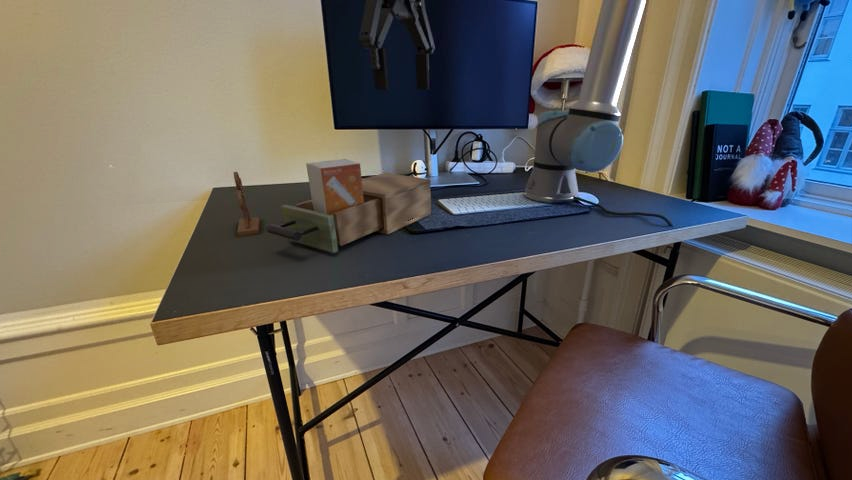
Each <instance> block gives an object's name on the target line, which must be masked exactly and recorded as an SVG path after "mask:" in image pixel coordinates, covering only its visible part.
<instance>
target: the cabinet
mask: <svg viewBox="0 0 852 480" xmlns="http://www.w3.org/2000/svg"><path fill="white" fill-rule="evenodd" d="M362 188H363V194H364V195H370V196H375V197H380V198H382V206H383V218H384V228H381V229H379V230H377V231H374V232H376V233H379V234H384V235H390V234H392V233H394V232H396V231H398V230H400V229H402V228H404V227H406V226H409V225H411V224H413V223H415V222H418V221H419V220H421V219H423V218H425V217H428V216H430V215H432V196H431V192H432V191H431V190H432V188H431V179H430V178H424V177H418V176H410V175H403V174H397V173H390V172H383V173H379V174H375V175H372V176H368V177H363V178H362ZM412 218H413V219H412ZM410 219H411V220H410ZM408 220H409V221H408Z"/></svg>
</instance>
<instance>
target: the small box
mask: <svg viewBox="0 0 852 480" xmlns="http://www.w3.org/2000/svg"><path fill="white" fill-rule="evenodd" d="M305 167H306V171H307V177H308V184H309V190H310V196H311V200H312V203H313V209H314V211H316V212H320V213H324V214H328V215H333V213H335V212H338V211H341V210H344V209H347V208H350V207H353V206H356V205H359V204H362V203H364V198H363V188H362V179H363V178H362V167H361V163H360V162H357V161H353V160H350V159H347V158H341V159H331V160H322V161H317V162H315V161H314V162H307V163H306V162H305ZM333 219H334V216H333ZM334 226H335V223H334ZM335 232H336V230H335Z"/></svg>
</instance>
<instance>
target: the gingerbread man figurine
mask: <svg viewBox="0 0 852 480" xmlns="http://www.w3.org/2000/svg"><path fill="white" fill-rule="evenodd" d="M233 179H234V183H235V187H236V189H237V191H236V194H237V199H238V204H239V208H240V210H241V211H242V215H243V218H240V219H239V220H238V226H237V231H236V232H237V236H238V237H242V236H251V235H258V234H260V226H261V225H260V218H259V217H258V216H254V217H252V216H250V213H249V209H248V206H247V204H246V199H245V193H244V187H243V183H242V179H241V177H240V175H239V172H238V171H233Z"/></svg>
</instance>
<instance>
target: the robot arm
mask: <svg viewBox="0 0 852 480" xmlns="http://www.w3.org/2000/svg"><path fill="white" fill-rule="evenodd" d="M646 2H647V0H602V2H601V7H600V9H599V10H600V11H599V13H598V19H597V23H596V26H595V30H594V35H593V39H592V42H591V45H590V50H589V54H588V58H587V63H586V67H585V71H584V76H583V79H582V83H581V87H580V91H579V96H578V99H577V101H575V102H574V103H573V104H572V105H570V106H569V109H568V110H566V109H564V110H563V109H562V110H550V111H549V110H548V111H544V112H542V113H540V114H539V116H538V121H537V125H536V136H535V137H536V138H535V146H534V156H533V157H534V158H533V167H532V171H531V173H530V175H529V178H528V180H527V182H526V185H525V188H524V197H525V198H527V199H529V200H532V201H535V202H540V203H546V204H547V203H548V204H567V203H573V202H576V201H580V202H583V203H586V204H588V205H592V206H593V207H597V208H599V209H601V210H602V211H603V212H605V213H606V214H609V215H612V216H642V217H652V218H658V219H661V220H663V221H665V223H666V224H667V225H668V226H669V227H674V225H673V223H672V222H671V221H670V219H668V217H666V216H664V215H662V214H659V213H650V212H649V213H648V212H640V211H628V212H627V211H626V212H619V211H618V212H616V211H611V210H608V209H607V208H606V207H605V206H603V205H601V204H599V203H596V202H593V201H590V200H587V199H584V198H582V197H579V196H578V195H579V188H578V181H577V175H576V170H577V171H579V172H581V171H582V172H585V173H586V172H587V173H597V172H600V171H602V170H604V169H606V168H607V167H609V166H610V165H611V164H612V163H614V161H616V159H617V158H618V156H619V155H620V153H621V150H622V148H623V144H624V134H622V129H621V127H620V126H619V125H618V124H619V122H620V117H621V112H620V111H619V109H618V106H617V104H618V100H619V97H620V93H621V90H622V87H623V83H624V80H625V76H626V72H627V69H628V66H629V63H630V58H631V55H632V52H633V49H634V45H635V41H636V37H637V34H638V30H639V26H640V23H641V20H642V16H643V13H644V10H645V5H646ZM394 18H396V19H397V20H400V21H401V22H402V24H404V25H405V27H406V30H407V31H408V34H409V36H410V38H411V40H412V43H413V45H414V48H415V50H416V51H417V53H415V54H414V59H415V75H416V77H415V78H416V89H417V90H430V64H429V63H430V61H429V60H430V59H429V57H430V55H432V54H434V51H435V50H436V46H435V41H434V38H433V34H432V30H431V26H430V22H429V18H428V14H427V10H426V4H425V0H365V4H364V9H363V15H362V19H361V24H360V30H359V34H358V41H359V43H360V44H363V45H362V46H363V48H364V49H366V50H369V57H370V58H369V59H370V67H371V69H372V74H373V75H372V76H373V84H374V85H373V86H374V90H375V91H390V87H389V86H390V85H389V73H388V62H387V51H386V48H382V46H383V44H384V43H385V39H386V37H387V34H388V33H389V30H390V27H391V25H392V22H393V20H394ZM525 193H526V194H525Z"/></svg>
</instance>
